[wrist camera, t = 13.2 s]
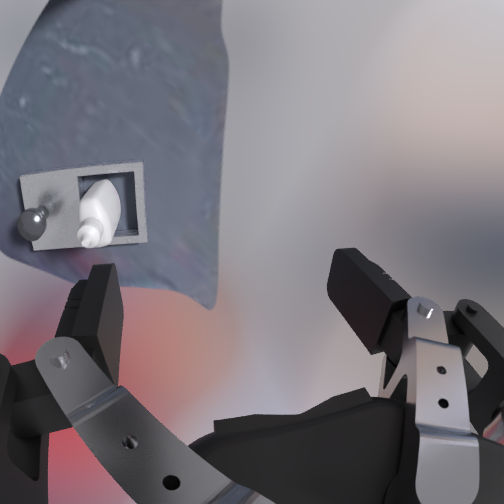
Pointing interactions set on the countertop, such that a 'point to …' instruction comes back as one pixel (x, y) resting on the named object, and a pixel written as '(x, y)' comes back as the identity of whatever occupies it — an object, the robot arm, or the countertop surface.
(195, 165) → the countertop surface
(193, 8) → the countertop surface
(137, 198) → the bolt plate
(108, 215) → the eye dropper bottle
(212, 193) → the countertop surface
